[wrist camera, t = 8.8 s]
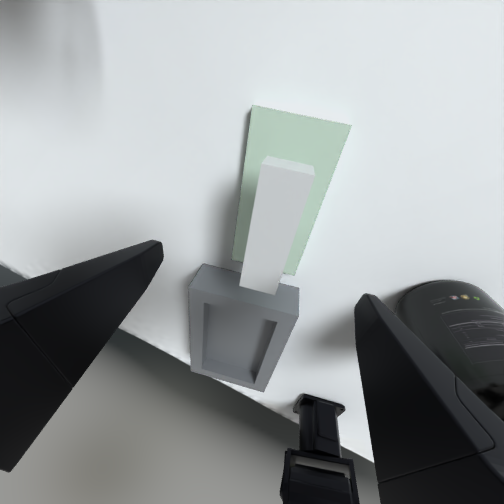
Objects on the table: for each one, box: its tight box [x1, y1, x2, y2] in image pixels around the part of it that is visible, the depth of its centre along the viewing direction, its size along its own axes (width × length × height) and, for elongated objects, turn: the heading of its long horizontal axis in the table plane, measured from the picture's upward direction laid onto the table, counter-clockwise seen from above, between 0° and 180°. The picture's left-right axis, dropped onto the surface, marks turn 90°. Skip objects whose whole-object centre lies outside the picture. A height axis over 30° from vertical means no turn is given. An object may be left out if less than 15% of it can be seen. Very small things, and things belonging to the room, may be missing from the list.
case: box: [188, 264, 299, 392], centre depth 24 cm, size 16×10×4 cm, turn 171°
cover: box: [231, 105, 352, 295], centre depth 14 cm, size 12×6×6 cm, turn 170°
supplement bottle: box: [395, 280, 504, 422], centre depth 14 cm, size 7×7×12 cm
